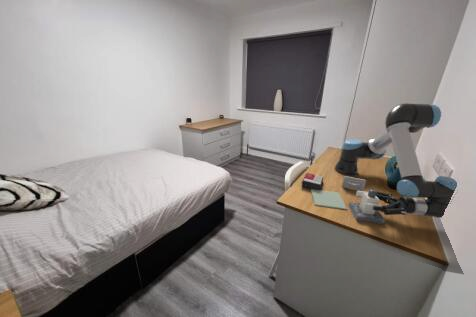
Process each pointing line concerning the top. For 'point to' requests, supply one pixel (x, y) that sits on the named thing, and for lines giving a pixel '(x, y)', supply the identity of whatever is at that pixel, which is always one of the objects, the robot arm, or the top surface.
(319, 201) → the mat
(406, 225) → the top surface
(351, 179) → the cassette
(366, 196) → the plug
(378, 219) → the socket
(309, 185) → the calculator
